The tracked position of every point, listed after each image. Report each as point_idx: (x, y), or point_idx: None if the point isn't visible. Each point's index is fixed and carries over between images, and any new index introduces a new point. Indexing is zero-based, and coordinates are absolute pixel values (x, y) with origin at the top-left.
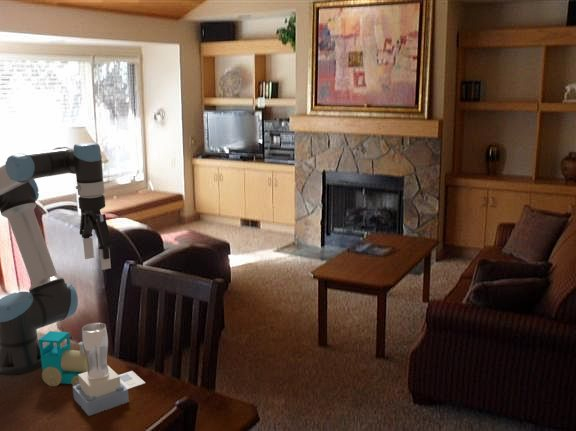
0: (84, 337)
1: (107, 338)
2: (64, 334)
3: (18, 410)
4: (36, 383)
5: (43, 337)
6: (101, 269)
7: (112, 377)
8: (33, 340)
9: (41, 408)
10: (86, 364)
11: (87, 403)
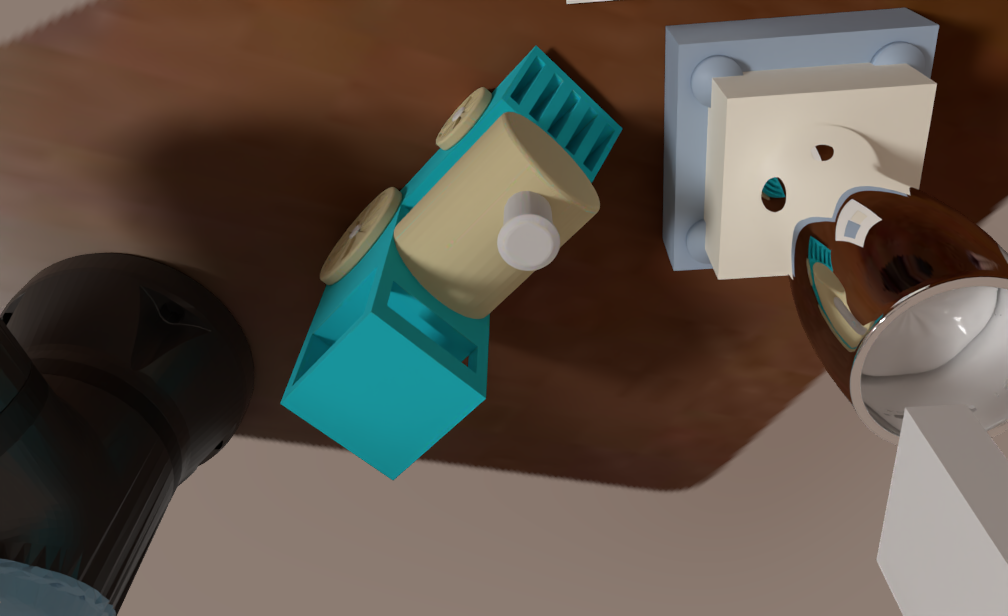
0: None
1: (976, 228)
2: (395, 344)
3: (602, 441)
4: None
5: (370, 453)
6: (884, 558)
7: (910, 126)
8: (135, 394)
9: (650, 369)
10: (591, 194)
11: None
